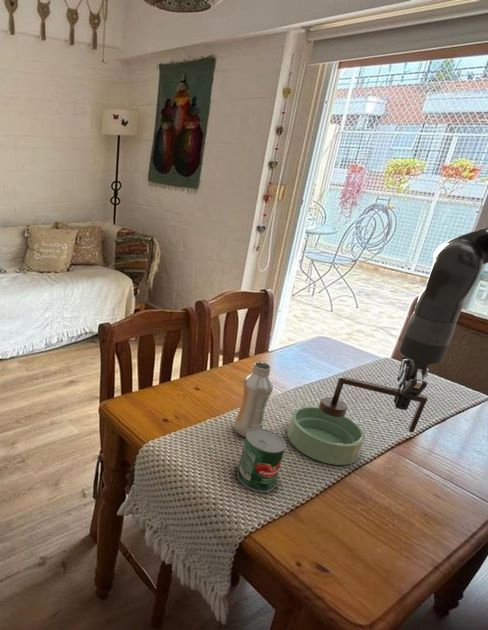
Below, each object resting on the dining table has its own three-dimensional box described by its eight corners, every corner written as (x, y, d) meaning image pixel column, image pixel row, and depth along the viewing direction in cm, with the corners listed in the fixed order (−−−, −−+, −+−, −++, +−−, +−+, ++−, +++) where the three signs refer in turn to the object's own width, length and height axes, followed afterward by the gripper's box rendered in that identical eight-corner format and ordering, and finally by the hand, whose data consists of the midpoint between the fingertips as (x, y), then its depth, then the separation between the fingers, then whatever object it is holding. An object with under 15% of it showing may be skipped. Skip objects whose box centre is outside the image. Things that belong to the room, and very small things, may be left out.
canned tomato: (247, 461, 103) (256, 423, 98) (280, 480, 98) (292, 440, 93) (230, 478, 98) (239, 438, 93) (265, 498, 92) (276, 457, 88)
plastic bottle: (239, 422, 117) (254, 356, 109) (265, 434, 112) (282, 366, 104) (228, 432, 112) (242, 364, 105) (254, 445, 108) (271, 375, 100)
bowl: (355, 437, 112) (362, 417, 110) (359, 475, 100) (367, 454, 97) (288, 418, 119) (293, 399, 117) (285, 452, 106) (290, 432, 104)
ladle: (318, 412, 104) (328, 379, 100) (318, 400, 109) (328, 369, 105) (415, 438, 96) (429, 403, 92) (410, 424, 101) (424, 391, 97)
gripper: (458, 354, 84) (426, 428, 91) (441, 328, 95) (414, 396, 102) (410, 344, 87) (383, 416, 94) (400, 321, 98) (376, 387, 105)
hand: (399, 405), depth 98 cm, fingers closed on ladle, 1 cm apart
